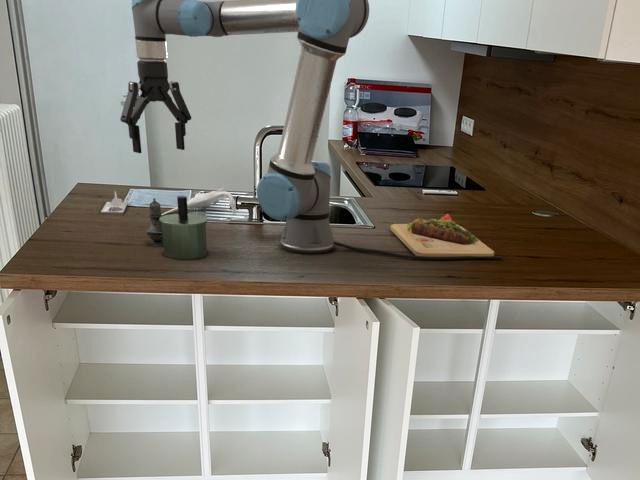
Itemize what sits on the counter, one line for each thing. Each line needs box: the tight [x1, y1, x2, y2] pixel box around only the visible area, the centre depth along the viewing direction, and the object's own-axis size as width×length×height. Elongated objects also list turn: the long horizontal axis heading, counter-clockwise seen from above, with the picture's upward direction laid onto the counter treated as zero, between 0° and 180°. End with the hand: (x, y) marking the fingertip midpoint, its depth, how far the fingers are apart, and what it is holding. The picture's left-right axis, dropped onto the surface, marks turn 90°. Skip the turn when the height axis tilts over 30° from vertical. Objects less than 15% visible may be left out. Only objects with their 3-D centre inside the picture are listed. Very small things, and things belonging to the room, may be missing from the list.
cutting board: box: [389, 213, 495, 257], centre depth 222 cm, size 35×23×8 cm
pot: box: [162, 222, 208, 260], centre depth 197 cm, size 11×11×8 cm
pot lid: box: [159, 195, 208, 226], centre depth 193 cm, size 12×12×7 cm
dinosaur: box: [161, 186, 237, 216], centre depth 244 cm, size 25×9×16 cm
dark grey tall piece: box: [145, 197, 163, 247], centre depth 203 cm, size 6×6×12 cm
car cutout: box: [100, 190, 129, 215], centre depth 239 cm, size 15×7×4 cm, turn 9°
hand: (159, 150), depth 200 cm, fingers open, 13 cm apart
